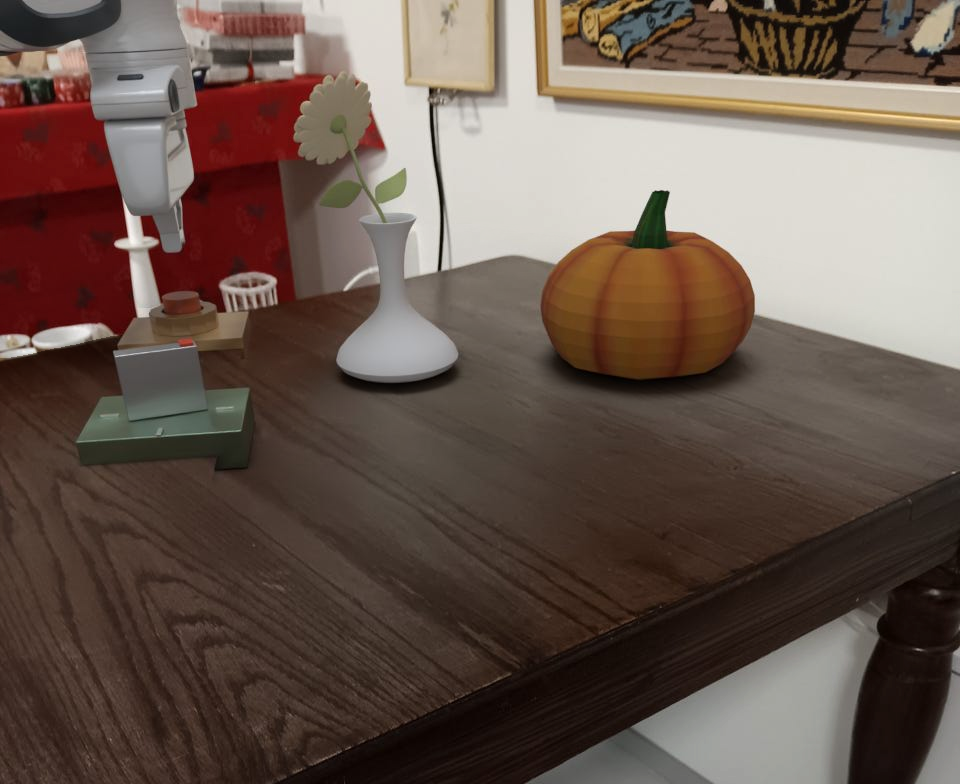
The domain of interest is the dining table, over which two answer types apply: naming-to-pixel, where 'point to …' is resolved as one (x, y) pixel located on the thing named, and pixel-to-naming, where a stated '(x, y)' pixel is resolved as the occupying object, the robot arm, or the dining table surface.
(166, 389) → the grey panel
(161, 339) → the button block
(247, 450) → the panel
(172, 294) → the button
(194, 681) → the dining table surface
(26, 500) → the dining table surface
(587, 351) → the pumpkin
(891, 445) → the dining table surface
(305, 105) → the flower in vase
